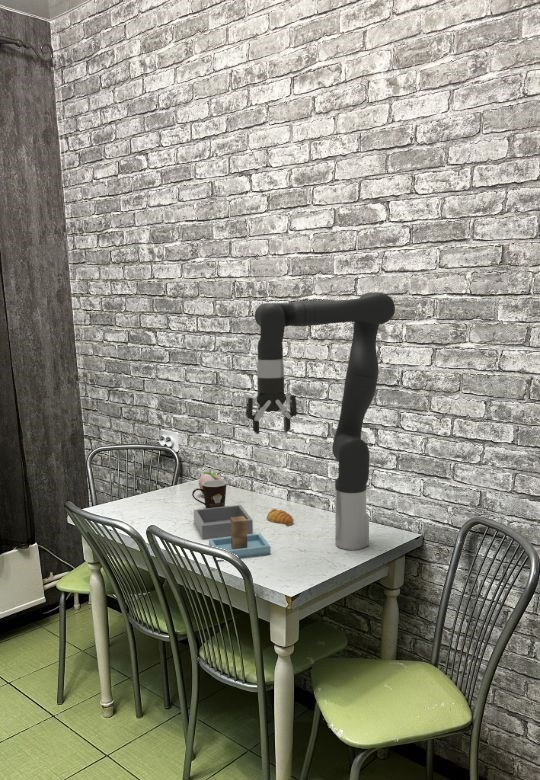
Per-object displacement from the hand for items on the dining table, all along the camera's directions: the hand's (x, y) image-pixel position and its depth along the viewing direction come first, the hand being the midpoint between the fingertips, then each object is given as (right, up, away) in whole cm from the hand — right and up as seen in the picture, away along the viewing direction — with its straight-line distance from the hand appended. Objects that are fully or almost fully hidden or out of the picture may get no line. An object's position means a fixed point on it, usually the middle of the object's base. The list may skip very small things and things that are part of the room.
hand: (271, 432), depth 178 cm
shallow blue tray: (-10, -36, +8) cm, 38 cm away
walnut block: (-10, -35, +8) cm, 37 cm away
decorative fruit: (-23, -29, +62) cm, 72 cm away
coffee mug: (-21, -31, +45) cm, 59 cm away
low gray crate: (-16, -33, +26) cm, 45 cm away
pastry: (+3, -32, +33) cm, 46 cm away
